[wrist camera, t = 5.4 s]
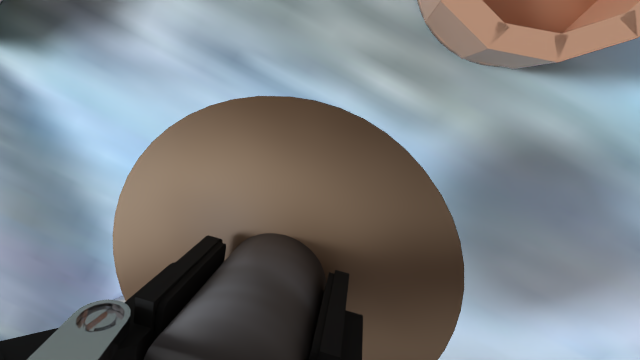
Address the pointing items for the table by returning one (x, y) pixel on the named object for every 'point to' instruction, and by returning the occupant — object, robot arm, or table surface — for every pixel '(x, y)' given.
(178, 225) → the walnut lid
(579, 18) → the terracotta bowl
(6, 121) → the table surface
